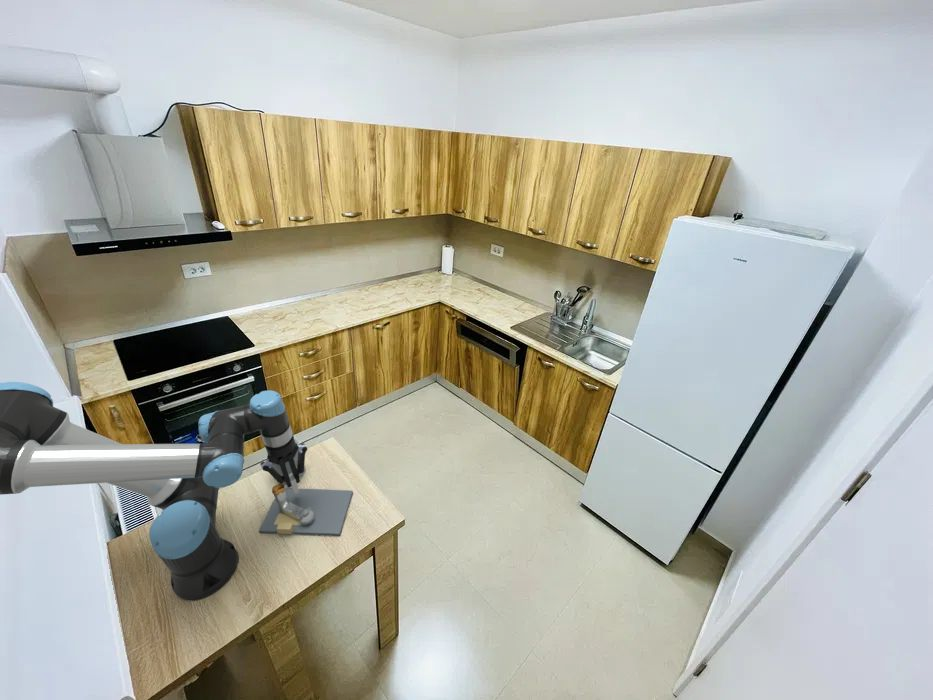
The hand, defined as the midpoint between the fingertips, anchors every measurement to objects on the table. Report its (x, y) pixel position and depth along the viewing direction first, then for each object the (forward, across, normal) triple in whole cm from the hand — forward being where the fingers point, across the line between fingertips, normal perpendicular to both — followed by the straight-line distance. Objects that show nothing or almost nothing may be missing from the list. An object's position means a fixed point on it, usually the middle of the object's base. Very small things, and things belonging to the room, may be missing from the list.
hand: (295, 490), depth 118 cm
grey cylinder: (+5, -2, -12) cm, 13 cm away
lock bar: (+4, +2, +6) cm, 7 cm away
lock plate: (+5, -1, +6) cm, 8 cm away
